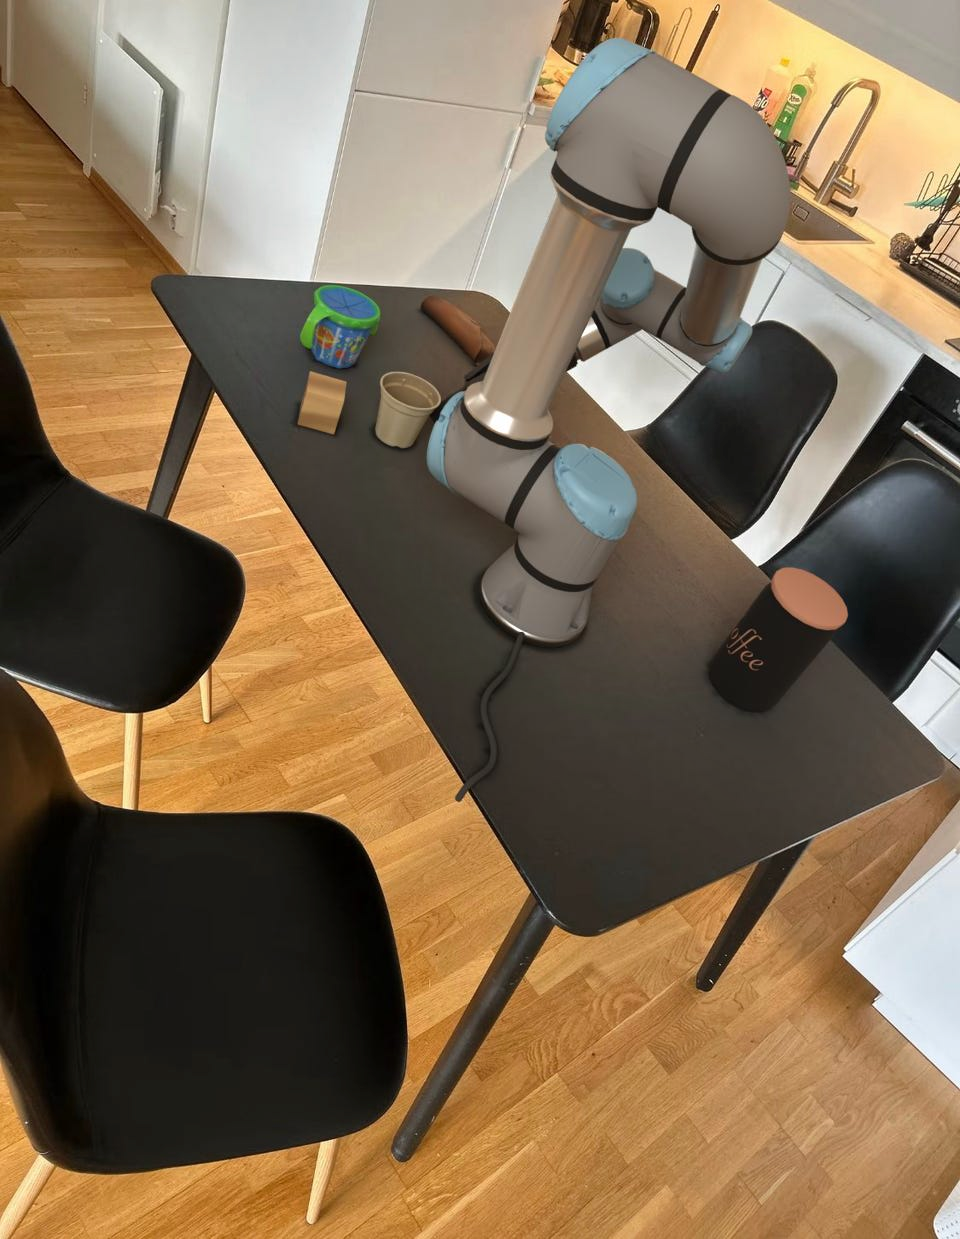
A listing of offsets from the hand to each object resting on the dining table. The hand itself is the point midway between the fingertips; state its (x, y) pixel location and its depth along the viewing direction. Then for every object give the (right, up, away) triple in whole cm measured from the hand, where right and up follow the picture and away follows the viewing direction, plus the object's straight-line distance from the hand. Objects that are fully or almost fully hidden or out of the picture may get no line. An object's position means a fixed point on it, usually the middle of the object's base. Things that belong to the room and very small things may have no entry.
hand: (431, 418), depth 150 cm
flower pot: (-6, -3, +1) cm, 7 cm away
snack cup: (-17, +12, +11) cm, 24 cm away
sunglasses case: (+4, +22, +32) cm, 39 cm away
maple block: (-17, -1, -3) cm, 17 cm away
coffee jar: (+44, -40, -13) cm, 61 cm away
